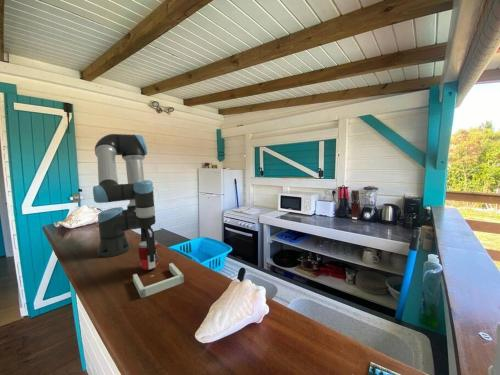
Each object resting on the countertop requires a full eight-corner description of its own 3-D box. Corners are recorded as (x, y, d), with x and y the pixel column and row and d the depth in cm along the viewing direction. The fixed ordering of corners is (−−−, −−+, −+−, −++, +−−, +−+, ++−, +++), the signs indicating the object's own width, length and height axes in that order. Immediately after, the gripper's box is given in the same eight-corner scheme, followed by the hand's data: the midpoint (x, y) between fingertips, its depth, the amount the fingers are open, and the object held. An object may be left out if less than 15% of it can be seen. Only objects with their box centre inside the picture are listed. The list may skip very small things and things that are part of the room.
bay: (133, 281, 89) (132, 274, 88) (172, 269, 99) (172, 262, 98) (141, 298, 78) (140, 290, 78) (184, 282, 88) (183, 275, 88)
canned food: (152, 271, 95) (150, 247, 93) (136, 269, 96) (133, 245, 95) (162, 262, 102) (161, 240, 100) (147, 260, 104) (145, 238, 102)
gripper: (131, 212, 101) (135, 258, 105) (141, 223, 85) (146, 277, 89) (148, 209, 106) (152, 253, 109) (161, 219, 90) (165, 270, 93)
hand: (149, 264), depth 99 cm, fingers closed on canned food, 8 cm apart
